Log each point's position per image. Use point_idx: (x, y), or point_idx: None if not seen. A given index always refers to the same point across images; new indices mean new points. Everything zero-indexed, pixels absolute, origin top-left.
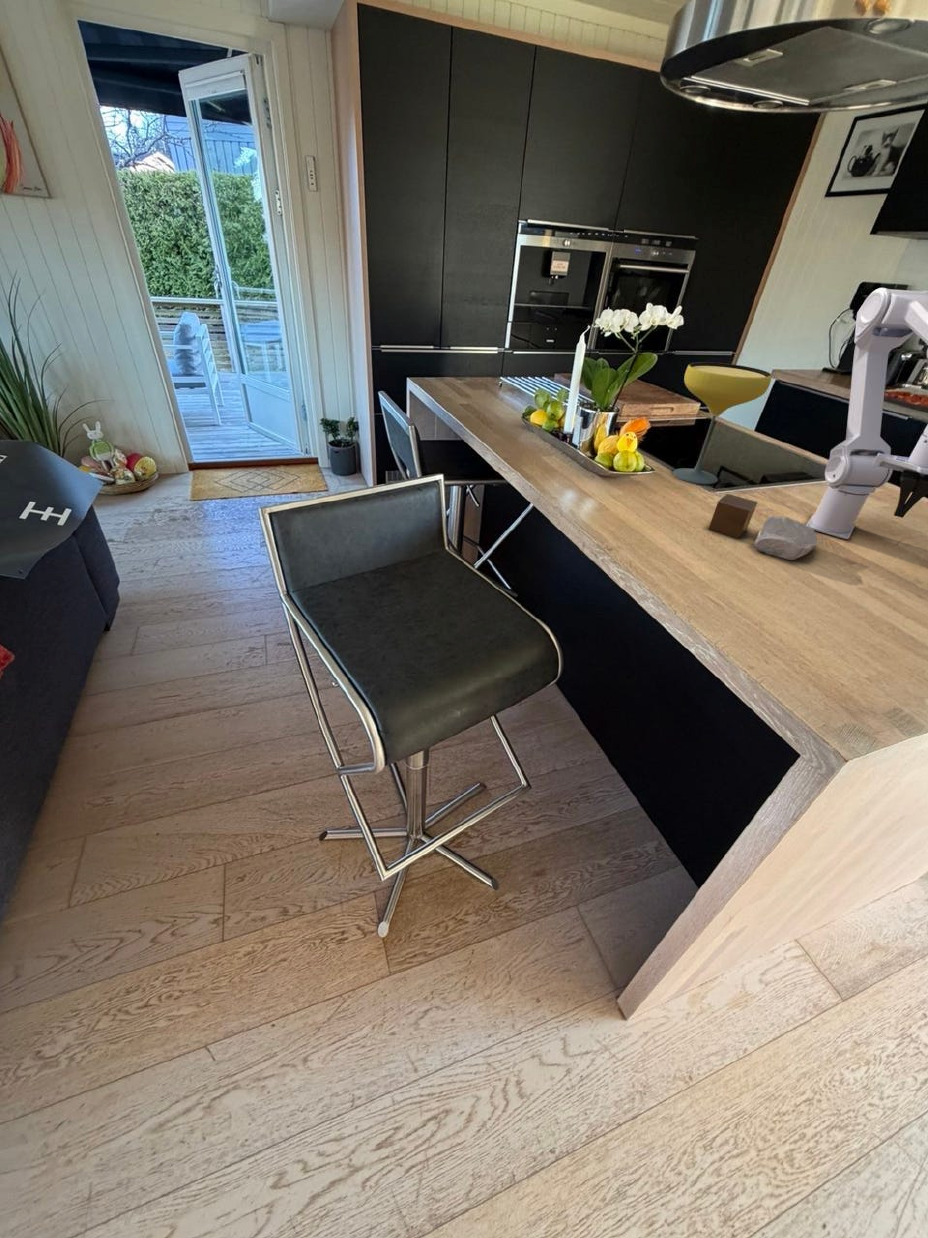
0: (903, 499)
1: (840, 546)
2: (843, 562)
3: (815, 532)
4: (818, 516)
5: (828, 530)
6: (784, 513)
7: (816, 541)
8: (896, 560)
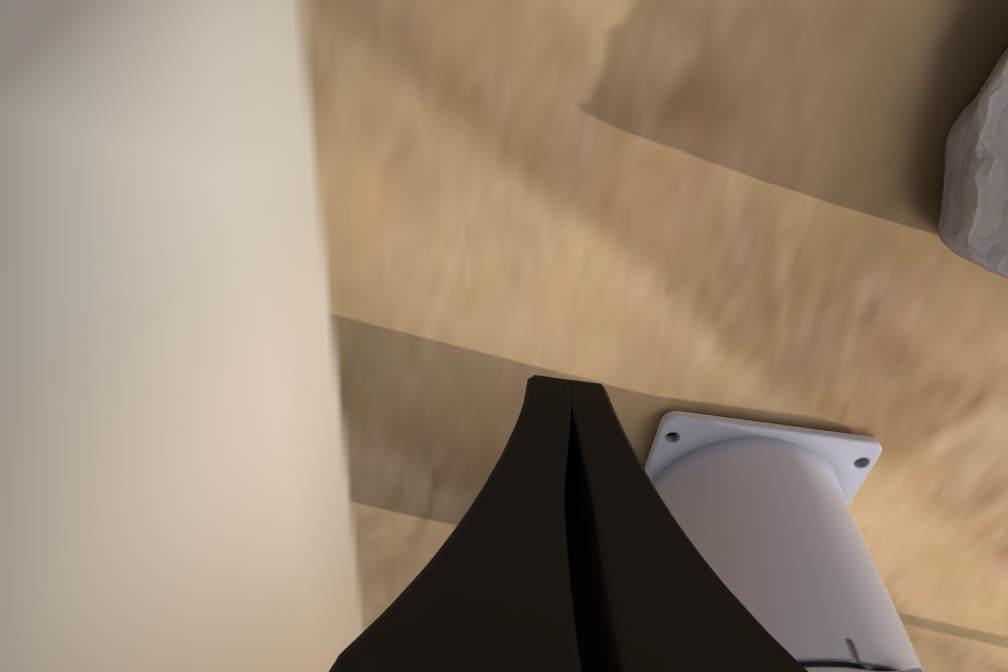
0: (625, 503)
1: (715, 313)
2: (742, 67)
3: (976, 257)
4: (852, 514)
5: (770, 441)
6: (939, 547)
7: (984, 141)
8: (431, 307)
